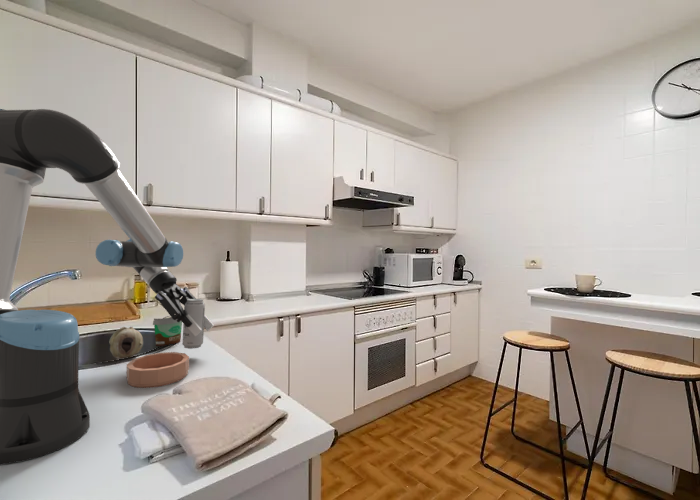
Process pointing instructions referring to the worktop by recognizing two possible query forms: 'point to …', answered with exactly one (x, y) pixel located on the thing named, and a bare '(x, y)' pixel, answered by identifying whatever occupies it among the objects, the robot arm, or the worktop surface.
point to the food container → (167, 331)
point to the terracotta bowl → (157, 369)
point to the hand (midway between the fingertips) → (204, 330)
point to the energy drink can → (197, 313)
